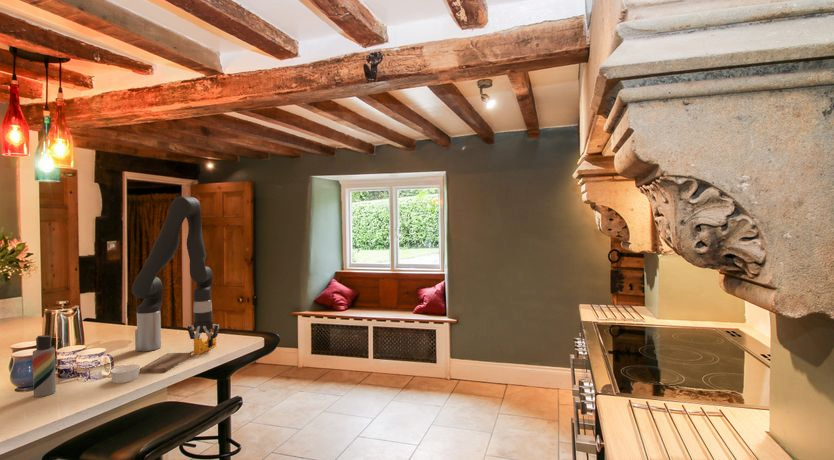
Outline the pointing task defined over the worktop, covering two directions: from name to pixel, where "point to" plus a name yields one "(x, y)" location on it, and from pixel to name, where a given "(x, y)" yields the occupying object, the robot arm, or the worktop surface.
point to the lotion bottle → (44, 367)
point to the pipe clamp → (202, 345)
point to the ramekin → (124, 373)
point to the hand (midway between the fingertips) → (204, 347)
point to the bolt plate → (165, 362)
